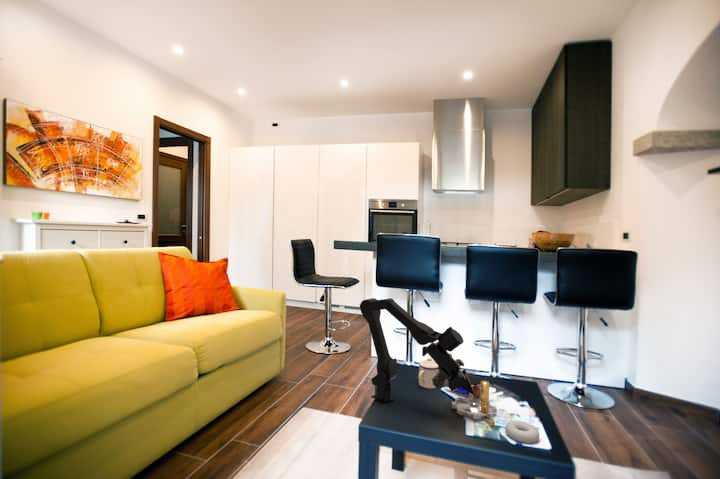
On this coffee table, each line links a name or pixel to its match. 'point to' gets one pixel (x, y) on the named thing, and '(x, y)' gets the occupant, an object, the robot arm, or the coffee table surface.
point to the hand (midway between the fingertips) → (472, 393)
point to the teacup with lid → (427, 373)
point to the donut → (522, 431)
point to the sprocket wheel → (476, 404)
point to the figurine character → (476, 389)
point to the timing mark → (490, 421)
